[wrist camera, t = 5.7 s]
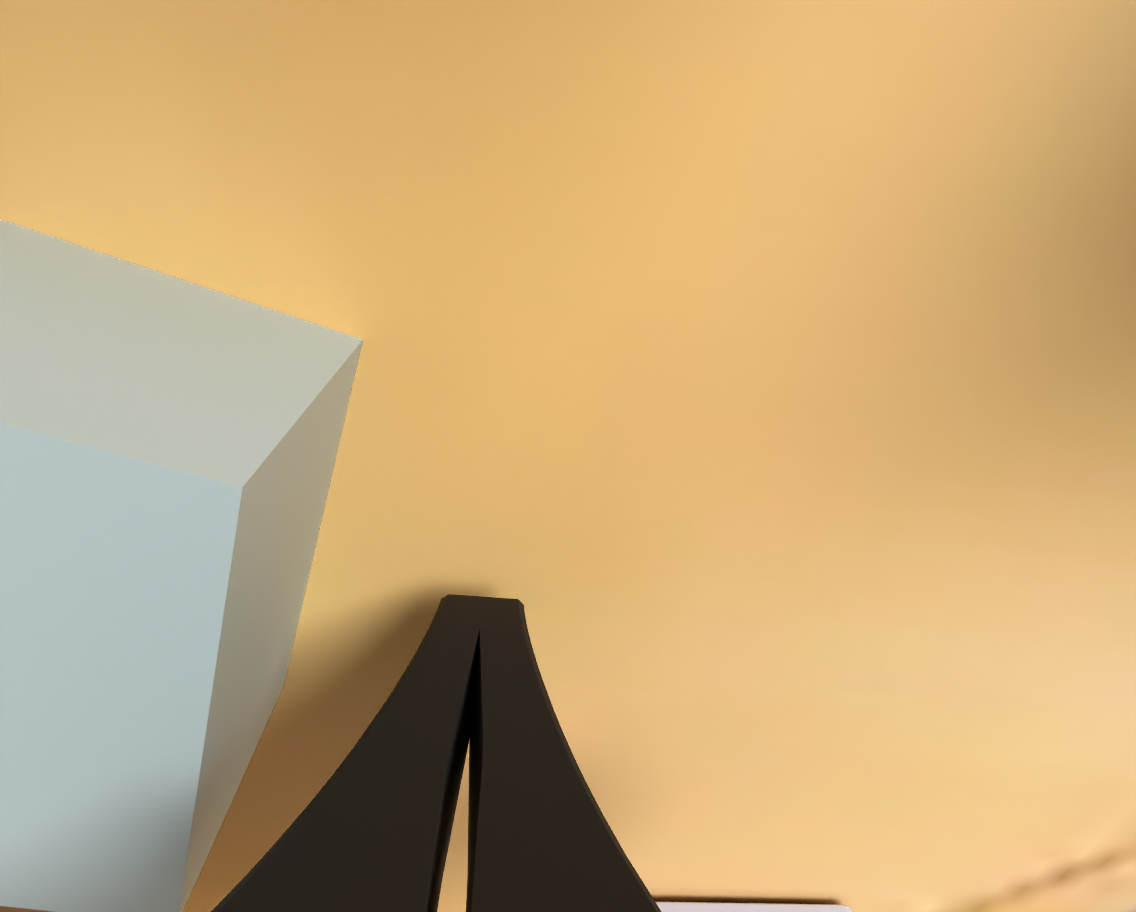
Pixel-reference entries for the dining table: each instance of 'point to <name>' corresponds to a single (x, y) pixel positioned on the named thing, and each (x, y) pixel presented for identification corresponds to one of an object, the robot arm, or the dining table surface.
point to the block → (145, 561)
